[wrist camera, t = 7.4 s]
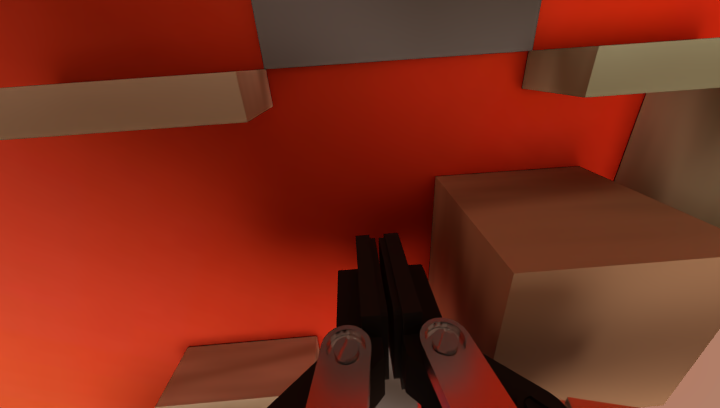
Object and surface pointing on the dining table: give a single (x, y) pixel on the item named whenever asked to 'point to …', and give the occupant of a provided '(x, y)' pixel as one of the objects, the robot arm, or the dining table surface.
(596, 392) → the walnut block
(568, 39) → the dining table surface
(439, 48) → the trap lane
